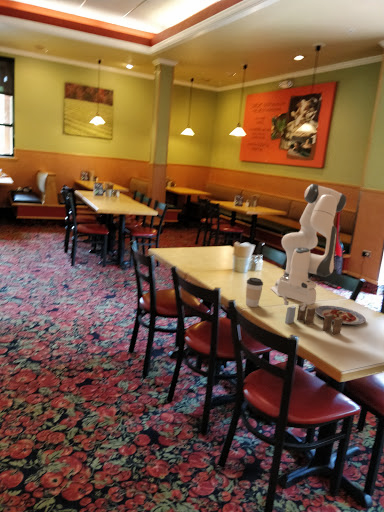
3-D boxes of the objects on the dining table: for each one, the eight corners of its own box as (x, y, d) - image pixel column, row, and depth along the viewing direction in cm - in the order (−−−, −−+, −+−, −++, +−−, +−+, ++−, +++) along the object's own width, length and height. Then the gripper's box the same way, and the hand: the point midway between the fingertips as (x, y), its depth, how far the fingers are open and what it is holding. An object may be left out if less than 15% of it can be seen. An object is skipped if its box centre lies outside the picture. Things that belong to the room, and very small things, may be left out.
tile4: (322, 330, 203) (325, 315, 201) (327, 328, 206) (330, 313, 204) (325, 331, 202) (328, 316, 200) (330, 329, 205) (333, 314, 203)
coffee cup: (255, 301, 236) (258, 276, 232) (263, 307, 228) (266, 281, 224) (240, 302, 233) (244, 276, 229) (248, 308, 224) (252, 281, 221)
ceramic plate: (325, 305, 241) (326, 301, 240) (371, 319, 225) (372, 314, 225) (306, 316, 221) (307, 311, 221) (355, 332, 206) (356, 326, 205)
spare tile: (285, 322, 208) (287, 307, 206) (291, 321, 212) (293, 306, 210) (287, 324, 207) (290, 308, 205) (293, 322, 210) (296, 307, 209)
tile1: (296, 320, 214) (299, 305, 212) (302, 318, 217) (304, 303, 215) (299, 321, 212) (301, 306, 211) (304, 319, 216) (307, 304, 214)
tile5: (331, 334, 199) (334, 318, 197) (337, 332, 202) (339, 316, 201) (334, 335, 198) (337, 319, 196) (340, 333, 201) (342, 318, 199)
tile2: (304, 323, 210) (307, 308, 208) (310, 321, 213) (313, 306, 211) (307, 324, 209) (310, 309, 207) (313, 322, 212) (315, 307, 210)
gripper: (276, 276, 209) (273, 302, 212) (312, 287, 195) (308, 315, 198) (284, 274, 213) (280, 300, 216) (319, 285, 199) (315, 312, 202)
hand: (294, 307), depth 207 cm, fingers open, 8 cm apart
